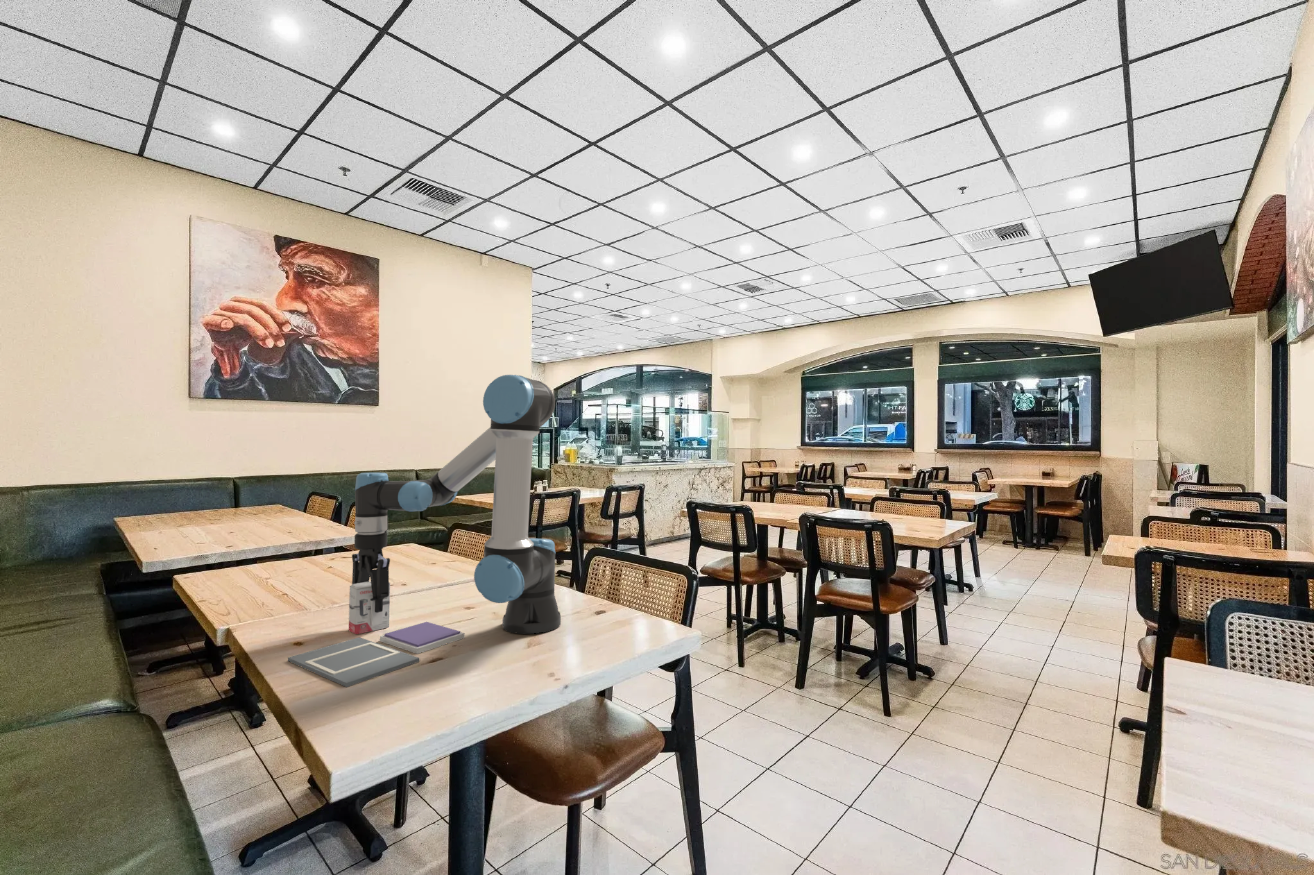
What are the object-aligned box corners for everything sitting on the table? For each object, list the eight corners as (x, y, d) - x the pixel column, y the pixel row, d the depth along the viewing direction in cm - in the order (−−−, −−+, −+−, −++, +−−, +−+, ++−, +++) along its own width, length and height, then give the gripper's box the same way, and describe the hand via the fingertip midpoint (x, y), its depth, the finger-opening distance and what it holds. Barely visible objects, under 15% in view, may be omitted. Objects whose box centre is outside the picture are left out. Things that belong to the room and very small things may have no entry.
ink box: (355, 635, 141) (355, 587, 142) (348, 631, 145) (348, 584, 145) (390, 627, 148) (391, 581, 148) (383, 623, 151) (383, 578, 151)
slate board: (419, 661, 125) (419, 656, 125) (346, 687, 111) (346, 682, 111) (359, 640, 138) (359, 636, 138) (287, 661, 124) (287, 656, 124)
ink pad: (464, 637, 140) (464, 631, 140) (417, 653, 129) (417, 646, 129) (427, 627, 148) (427, 620, 148) (379, 641, 137) (379, 634, 137)
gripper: (337, 530, 148) (335, 619, 148) (377, 537, 138) (375, 632, 138) (365, 527, 155) (363, 612, 154) (405, 533, 145) (404, 624, 144)
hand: (369, 622), depth 146 cm, fingers closed on ink box, 5 cm apart
